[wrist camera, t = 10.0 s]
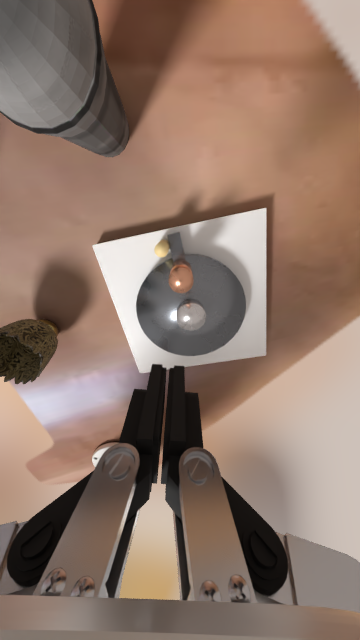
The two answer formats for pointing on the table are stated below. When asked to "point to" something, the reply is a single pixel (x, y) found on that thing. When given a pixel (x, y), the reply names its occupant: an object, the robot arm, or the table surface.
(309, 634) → the robot arm
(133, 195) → the table surface
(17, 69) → the beverage cup
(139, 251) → the base plate
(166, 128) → the table surface
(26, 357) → the cup
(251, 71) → the table surface
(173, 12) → the table surface
